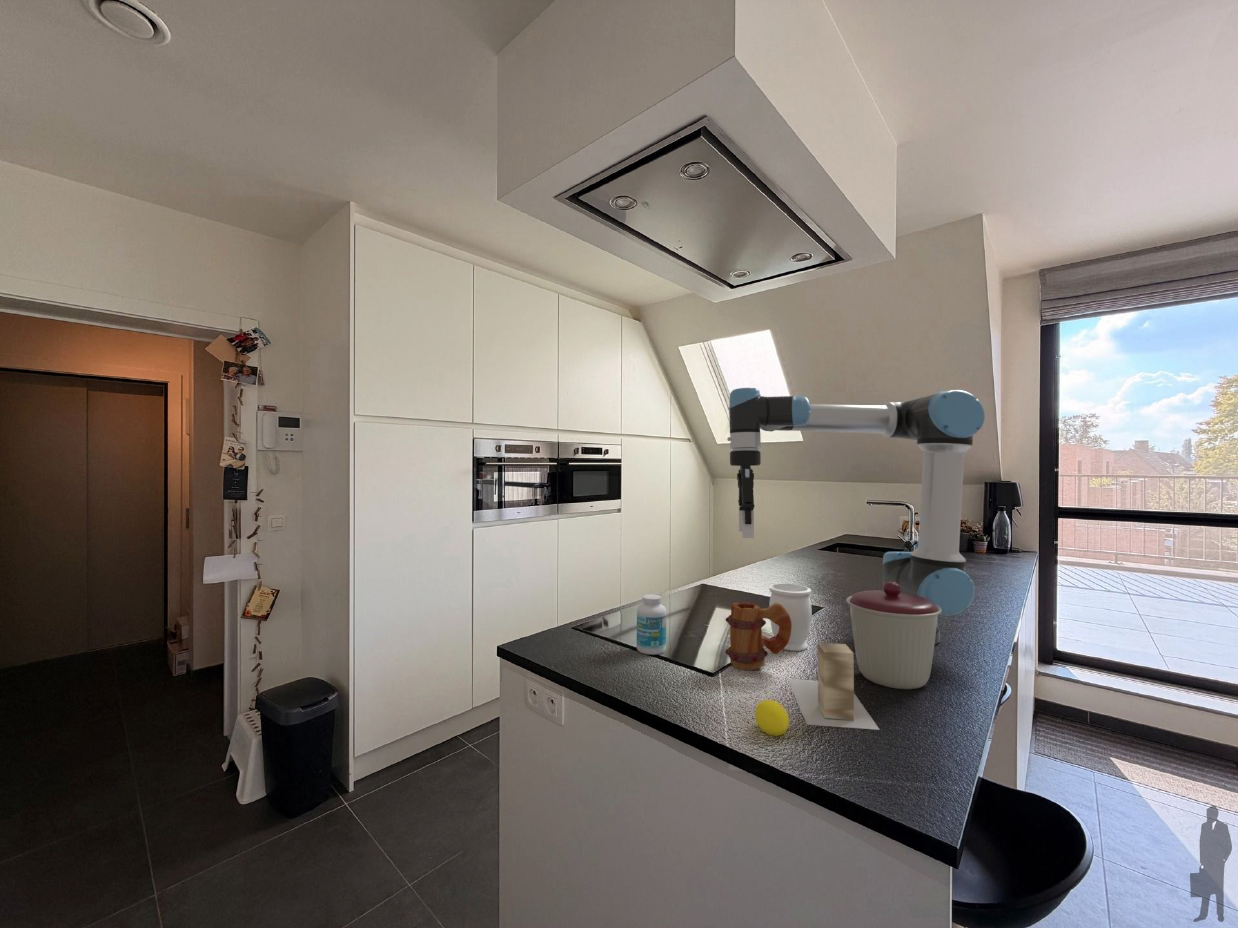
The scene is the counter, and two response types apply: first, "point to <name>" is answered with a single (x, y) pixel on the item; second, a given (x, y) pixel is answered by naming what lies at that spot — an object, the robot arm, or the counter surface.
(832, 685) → the block
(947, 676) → the counter surface
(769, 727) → the lemon
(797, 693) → the mat
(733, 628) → the mug
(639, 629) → the pill bottle
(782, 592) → the jar
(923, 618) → the canister
